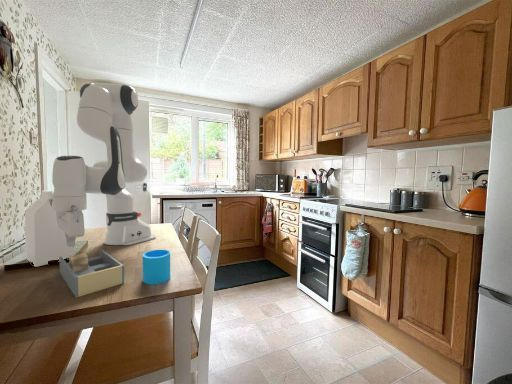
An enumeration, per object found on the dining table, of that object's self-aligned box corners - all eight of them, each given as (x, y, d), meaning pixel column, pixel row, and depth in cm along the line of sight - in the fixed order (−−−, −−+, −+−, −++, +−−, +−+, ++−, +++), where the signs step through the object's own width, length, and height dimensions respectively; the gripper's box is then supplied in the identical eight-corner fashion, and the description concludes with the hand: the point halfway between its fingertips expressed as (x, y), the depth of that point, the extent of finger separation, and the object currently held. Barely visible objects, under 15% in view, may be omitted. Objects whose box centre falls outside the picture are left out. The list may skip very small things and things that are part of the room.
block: (84, 265, 78) (84, 253, 77) (88, 268, 75) (87, 256, 75) (69, 268, 75) (69, 256, 74) (72, 272, 72) (72, 259, 72)
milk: (74, 257, 92) (72, 190, 90) (35, 266, 83) (31, 192, 81) (62, 251, 99) (60, 189, 97) (25, 259, 89) (21, 190, 87)
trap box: (101, 263, 87) (101, 248, 87) (124, 282, 72) (123, 265, 72) (59, 273, 78) (59, 256, 78) (75, 297, 64) (75, 277, 63)
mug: (172, 281, 75) (172, 255, 74) (143, 286, 71) (143, 259, 70) (166, 267, 85) (166, 245, 84) (141, 271, 81) (140, 248, 80)
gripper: (90, 207, 74) (90, 250, 75) (74, 201, 88) (75, 238, 88) (64, 208, 69) (65, 255, 70) (52, 202, 83) (53, 241, 84)
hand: (70, 245), depth 79 cm, fingers closed
